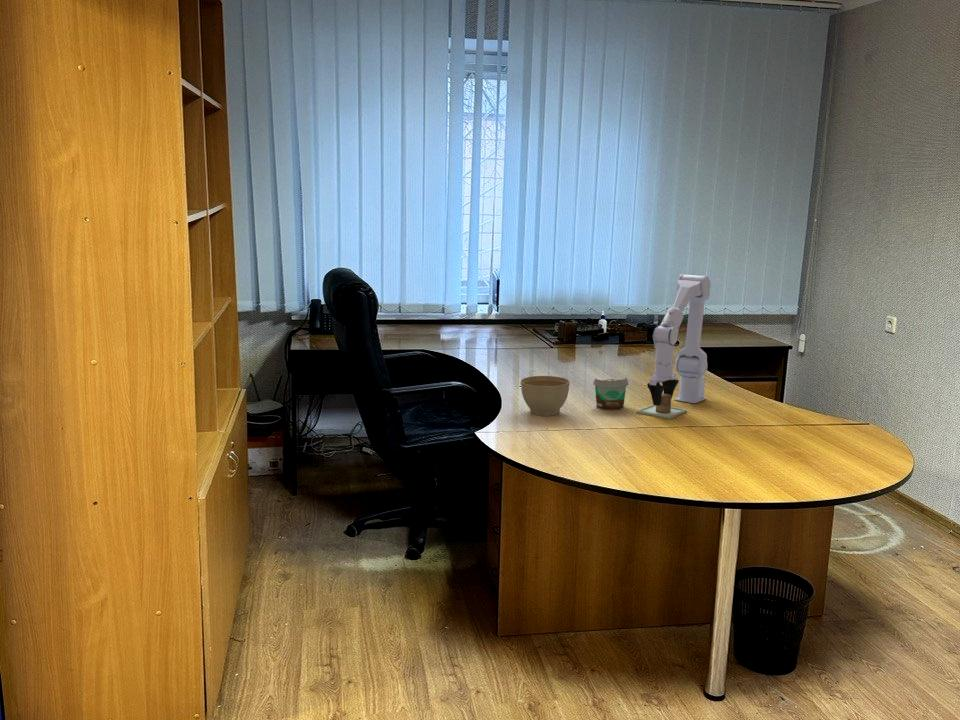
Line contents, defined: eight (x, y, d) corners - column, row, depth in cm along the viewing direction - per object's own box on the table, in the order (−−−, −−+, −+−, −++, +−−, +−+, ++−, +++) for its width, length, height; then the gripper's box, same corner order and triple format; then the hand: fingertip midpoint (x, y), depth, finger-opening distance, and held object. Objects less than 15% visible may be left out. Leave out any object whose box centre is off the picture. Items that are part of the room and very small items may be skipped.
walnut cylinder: (658, 409, 296) (659, 393, 295) (672, 410, 293) (673, 394, 292) (653, 412, 292) (654, 395, 291) (667, 414, 289) (668, 397, 288)
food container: (599, 411, 293) (600, 382, 291) (592, 407, 299) (593, 378, 297) (633, 409, 297) (634, 380, 295) (625, 405, 302) (627, 376, 300)
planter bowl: (538, 404, 303) (539, 373, 301) (578, 412, 293) (579, 380, 291) (510, 413, 290) (510, 380, 288) (550, 421, 280) (551, 388, 278)
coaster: (654, 406, 301) (654, 403, 301) (686, 412, 294) (686, 409, 294) (636, 412, 292) (636, 410, 292) (669, 419, 285) (669, 416, 285)
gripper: (664, 367, 282) (662, 409, 284) (685, 360, 293) (683, 400, 295) (644, 364, 286) (643, 405, 289) (666, 358, 297) (664, 397, 300)
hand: (662, 402), depth 292 cm, fingers open, 7 cm apart
